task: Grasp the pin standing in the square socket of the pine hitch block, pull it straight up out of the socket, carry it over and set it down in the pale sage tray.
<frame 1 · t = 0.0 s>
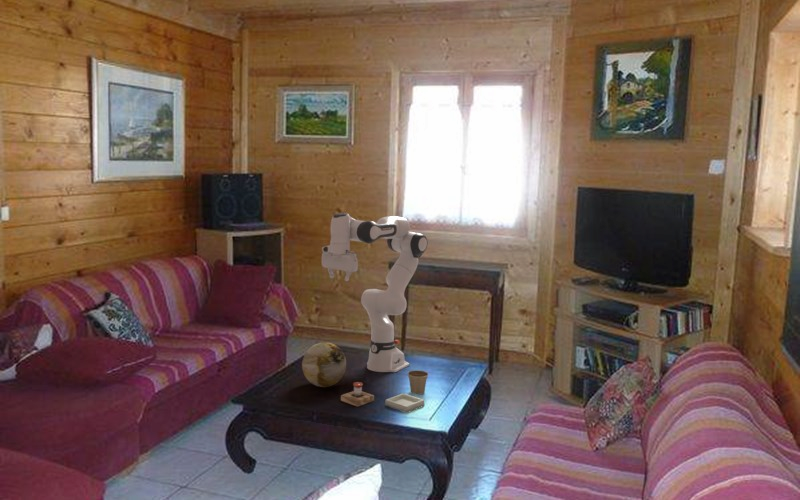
hand: (339, 279, 307), 48 cm above the table, tool pointing down, fingers open, 8 cm apart
tray: (404, 405, 285), on the table
flower pot: (417, 392, 302), on the table
decorative sphere: (323, 386, 306), on the table
pin: (357, 392, 288), in the hitch block
hitch block: (357, 400, 289), on the table
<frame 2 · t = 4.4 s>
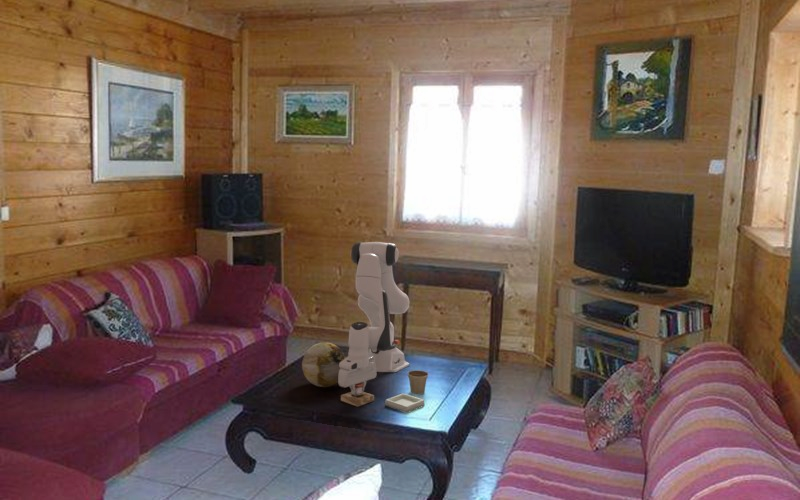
hand: (357, 392, 288), 4 cm above the table, tool pointing down, fingers closed on pin, 3 cm apart
pin: (357, 392, 288), in the hitch block, touching gripper
everything else where it was.
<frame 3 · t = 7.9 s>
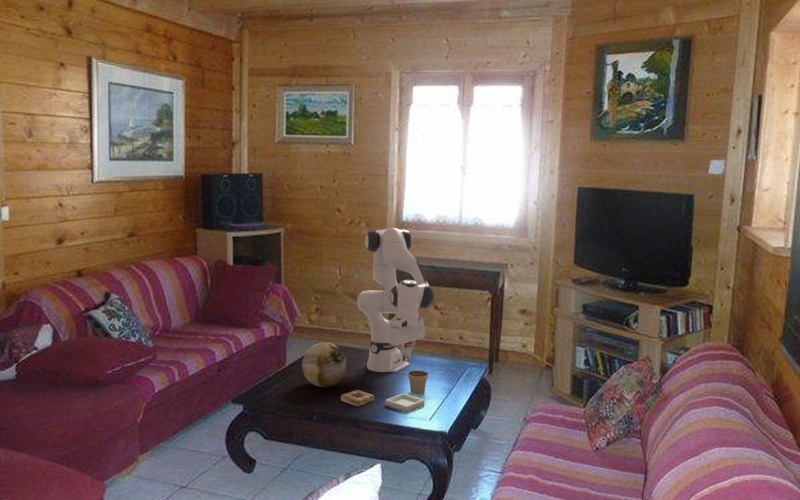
hand: (406, 352, 282), 23 cm above the table, tool pointing down, fingers closed on pin, 3 cm apart
pin: (406, 351, 282), point 23 cm above the table, touching gripper
everything else where it was.
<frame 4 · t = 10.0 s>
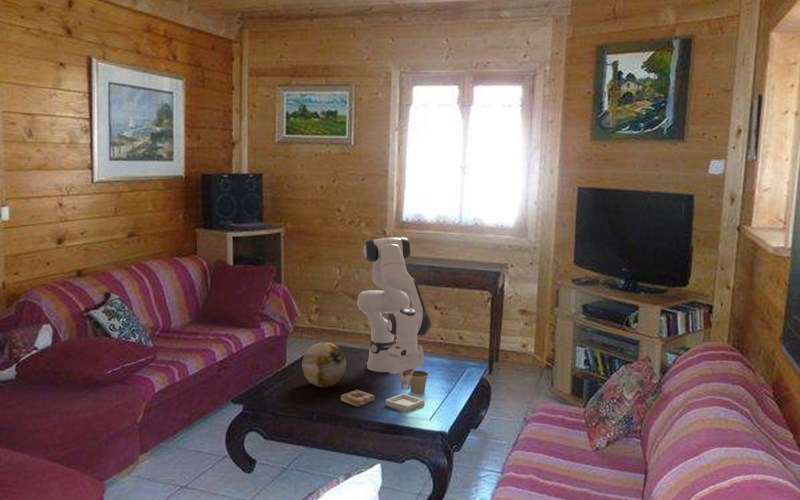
hand: (405, 380, 283), 11 cm above the table, tool pointing down, fingers closed on pin, 3 cm apart
pin: (405, 379, 283), point 11 cm above the table, touching gripper
everything else where it was.
when the fingers open (6 cm above the table, at t = 11.4 s): pin drops 1 cm, resting on tray.
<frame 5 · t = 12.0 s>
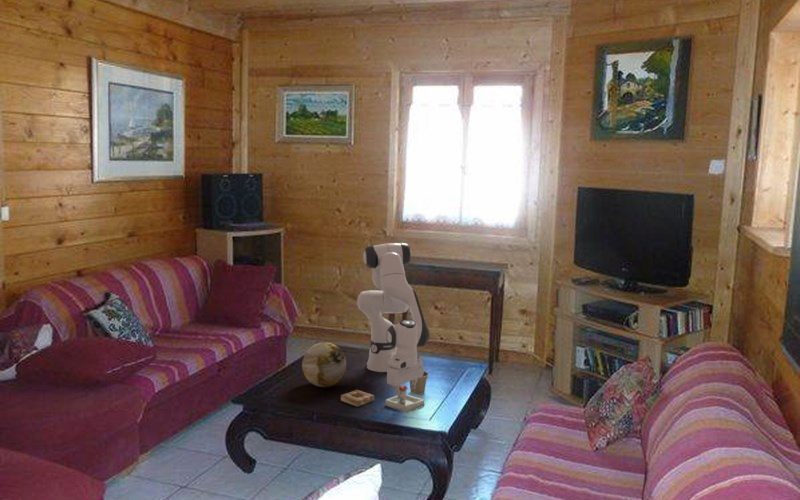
hand: (405, 391, 284), 6 cm above the table, tool pointing down, fingers open, 8 cm apart
pin: (401, 395, 283), in the tray, point 5 cm above the table, touching gripper
everything else where it was.
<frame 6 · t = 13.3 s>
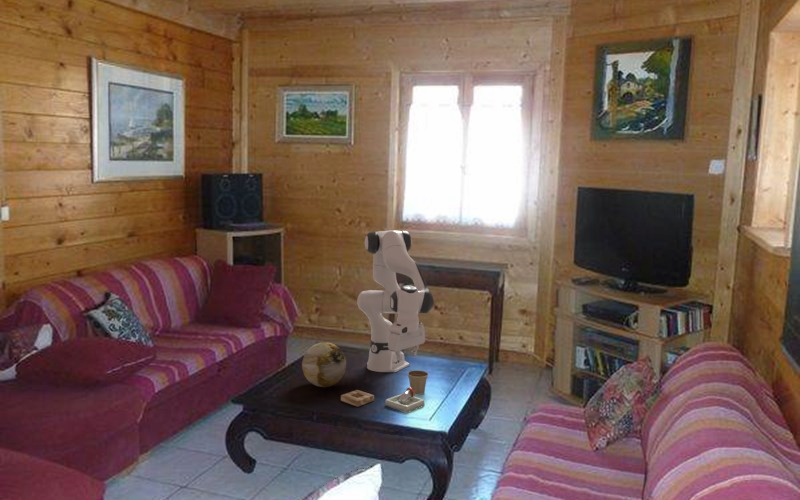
hand: (406, 357, 282), 21 cm above the table, tool pointing down, fingers open, 8 cm apart
pin: (405, 396, 286), in the tray, point 4 cm above the table, tilted 75°
everything else where it was.
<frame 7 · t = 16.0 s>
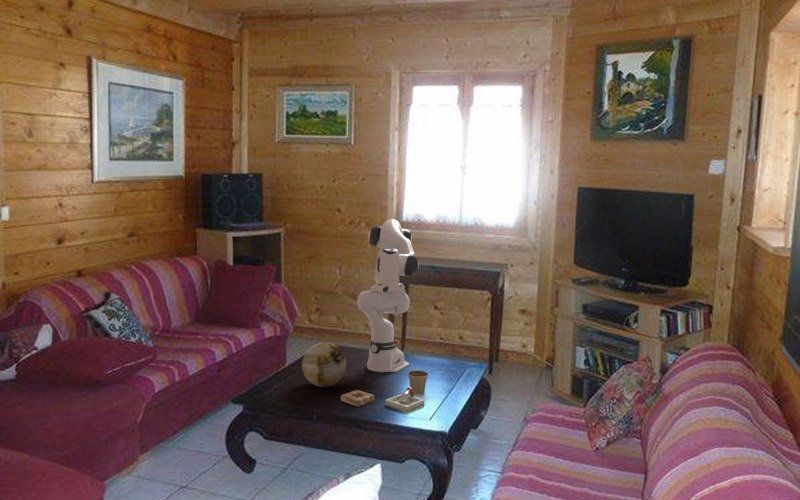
hand: (388, 316, 297), 34 cm above the table, tool pointing down, fingers open, 8 cm apart
nothing on the table moved.
at the end: pin inside the target area on the tray (2.5 cm from its centre), point 3.6 cm above the tray's base; the gripper is holding nothing; pin touching tray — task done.
